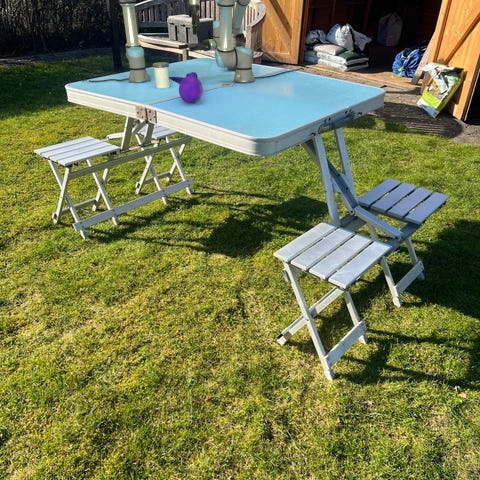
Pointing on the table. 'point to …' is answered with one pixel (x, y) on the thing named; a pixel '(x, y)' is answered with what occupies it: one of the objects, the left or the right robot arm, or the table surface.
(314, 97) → the table surface
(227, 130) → the table surface
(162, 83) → the jar
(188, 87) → the toy
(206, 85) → the table surface
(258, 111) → the table surface
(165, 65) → the lid
